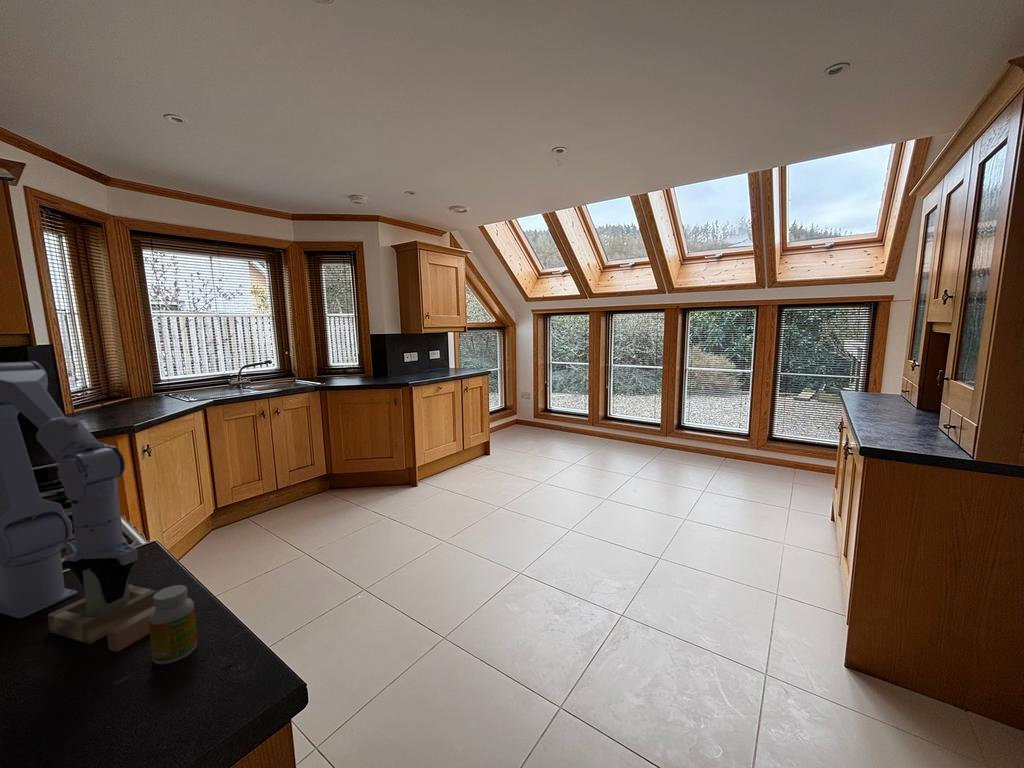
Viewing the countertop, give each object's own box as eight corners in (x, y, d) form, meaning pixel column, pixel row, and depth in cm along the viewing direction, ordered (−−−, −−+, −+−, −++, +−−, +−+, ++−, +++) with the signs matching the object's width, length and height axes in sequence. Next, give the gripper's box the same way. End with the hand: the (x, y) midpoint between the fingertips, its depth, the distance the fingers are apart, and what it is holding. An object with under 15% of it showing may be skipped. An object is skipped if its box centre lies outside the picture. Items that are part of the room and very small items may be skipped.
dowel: (86, 616, 73) (82, 570, 72) (114, 603, 76) (110, 559, 76) (102, 620, 71) (98, 574, 71) (130, 606, 75) (126, 562, 75)
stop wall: (108, 649, 66) (106, 631, 66) (176, 610, 76) (174, 594, 76) (117, 652, 66) (115, 633, 66) (184, 612, 75) (182, 596, 75)
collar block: (49, 632, 71) (47, 614, 70) (120, 597, 80) (118, 582, 80) (90, 644, 68) (88, 625, 67) (158, 606, 77) (157, 590, 77)
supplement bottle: (172, 668, 62) (167, 604, 62) (142, 663, 64) (136, 600, 63) (206, 642, 68) (201, 583, 67) (177, 638, 69) (172, 580, 68)
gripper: (38, 525, 71) (48, 603, 72) (97, 536, 66) (106, 619, 68) (91, 509, 77) (99, 581, 79) (148, 518, 73) (155, 594, 74)
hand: (106, 597), depth 74 cm, fingers closed on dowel, 4 cm apart
